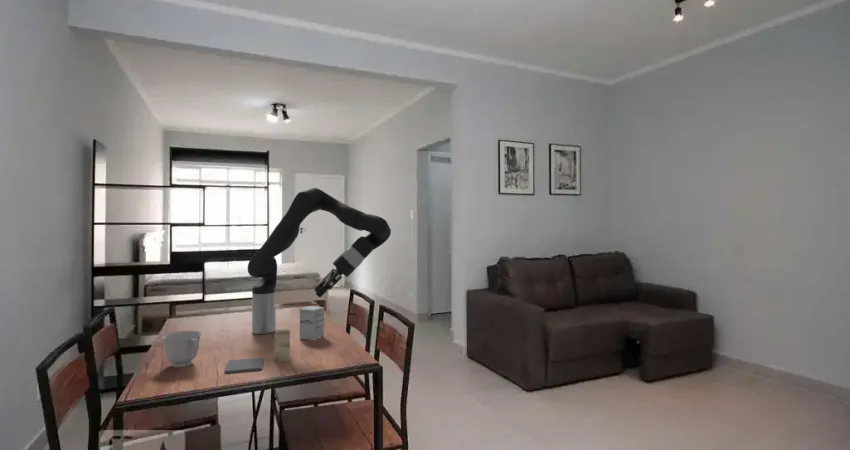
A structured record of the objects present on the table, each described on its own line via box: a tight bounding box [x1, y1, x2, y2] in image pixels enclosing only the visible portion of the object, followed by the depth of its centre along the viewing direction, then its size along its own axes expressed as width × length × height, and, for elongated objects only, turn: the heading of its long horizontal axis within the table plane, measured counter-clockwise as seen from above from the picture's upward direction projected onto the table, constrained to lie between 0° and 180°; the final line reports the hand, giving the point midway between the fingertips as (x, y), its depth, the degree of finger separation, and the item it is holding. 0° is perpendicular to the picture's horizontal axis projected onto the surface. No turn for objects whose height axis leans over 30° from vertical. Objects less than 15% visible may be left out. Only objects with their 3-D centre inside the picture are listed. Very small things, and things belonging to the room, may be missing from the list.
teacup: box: [161, 330, 203, 368], centre depth 148 cm, size 12×15×10 cm
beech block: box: [274, 328, 291, 363], centre depth 155 cm, size 5×5×10 cm
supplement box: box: [298, 305, 325, 341], centre depth 183 cm, size 7×7×13 cm
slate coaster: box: [224, 357, 264, 374], centre depth 147 cm, size 11×11×1 cm
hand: (316, 293), depth 158 cm, fingers open, 8 cm apart
